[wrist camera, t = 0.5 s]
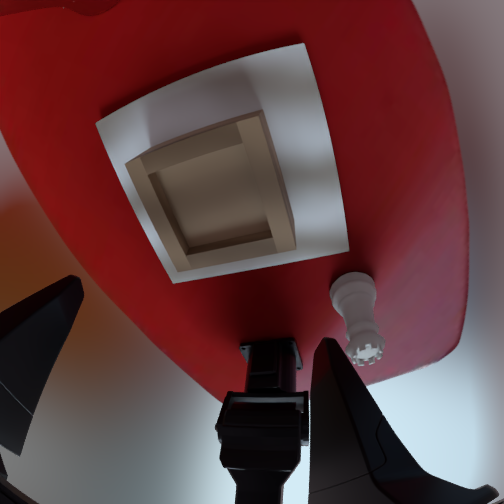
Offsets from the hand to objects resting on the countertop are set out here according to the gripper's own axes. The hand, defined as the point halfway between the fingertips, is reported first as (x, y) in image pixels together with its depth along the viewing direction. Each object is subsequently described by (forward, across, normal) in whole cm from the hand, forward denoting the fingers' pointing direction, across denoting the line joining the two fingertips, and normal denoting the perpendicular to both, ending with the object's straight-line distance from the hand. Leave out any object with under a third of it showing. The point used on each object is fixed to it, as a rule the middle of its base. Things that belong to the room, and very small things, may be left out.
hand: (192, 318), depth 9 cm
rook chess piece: (+14, -12, +8) cm, 20 cm away
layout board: (+14, +1, 0) cm, 14 cm away
